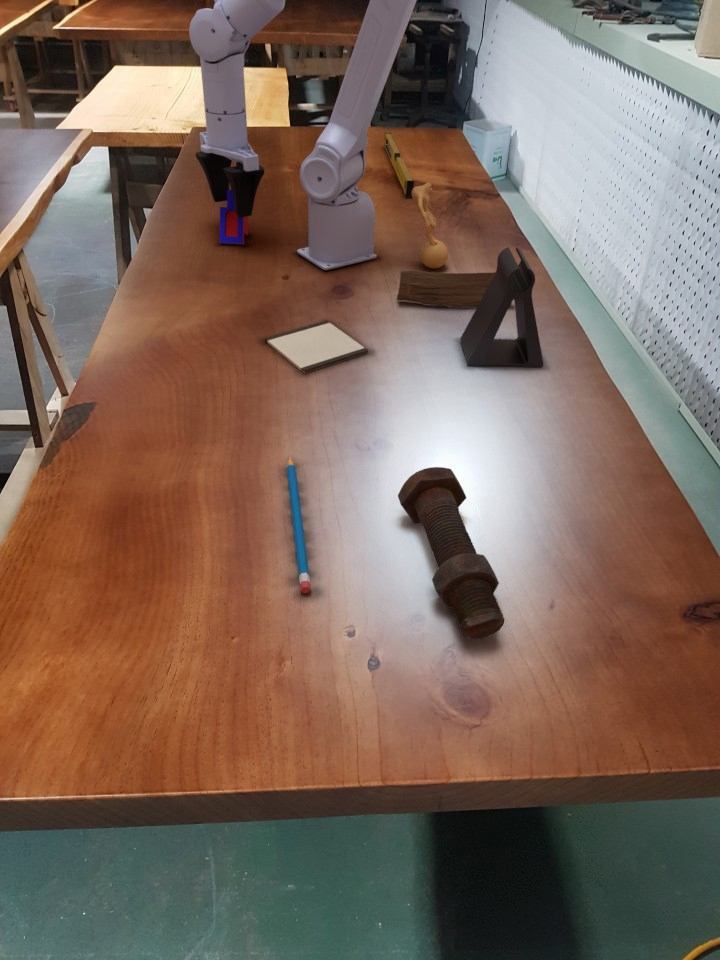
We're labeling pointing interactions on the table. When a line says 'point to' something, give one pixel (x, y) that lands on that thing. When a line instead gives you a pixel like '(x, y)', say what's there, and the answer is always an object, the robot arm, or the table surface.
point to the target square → (315, 346)
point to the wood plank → (444, 288)
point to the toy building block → (232, 223)
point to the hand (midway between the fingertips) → (232, 208)
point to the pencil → (298, 529)
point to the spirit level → (399, 165)
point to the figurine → (429, 229)
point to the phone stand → (490, 314)
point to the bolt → (453, 551)
